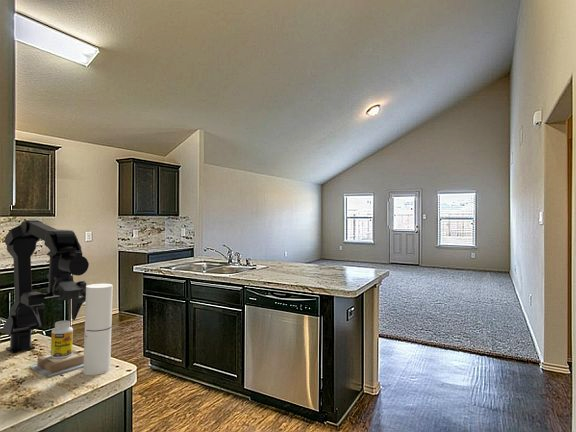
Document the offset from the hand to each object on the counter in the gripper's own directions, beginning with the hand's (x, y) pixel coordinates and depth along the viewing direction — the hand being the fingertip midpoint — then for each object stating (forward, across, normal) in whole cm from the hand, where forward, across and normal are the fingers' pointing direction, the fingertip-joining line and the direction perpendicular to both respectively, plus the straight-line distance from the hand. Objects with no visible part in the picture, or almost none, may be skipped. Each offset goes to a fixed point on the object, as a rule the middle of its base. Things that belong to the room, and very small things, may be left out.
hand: (58, 323), depth 116 cm
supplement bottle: (+10, 0, -2) cm, 10 cm away
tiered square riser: (+13, 0, -2) cm, 13 cm away
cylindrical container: (+13, +5, -13) cm, 19 cm away
